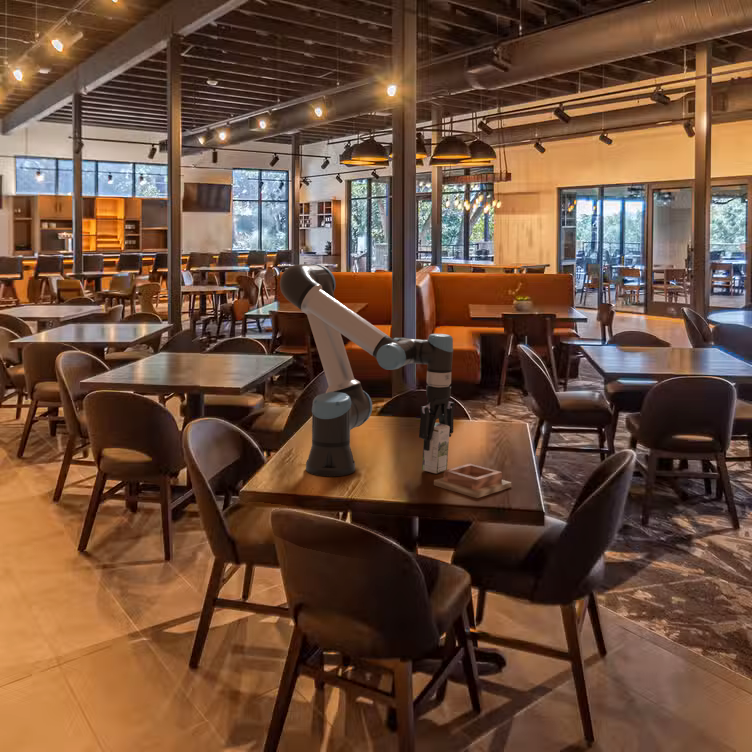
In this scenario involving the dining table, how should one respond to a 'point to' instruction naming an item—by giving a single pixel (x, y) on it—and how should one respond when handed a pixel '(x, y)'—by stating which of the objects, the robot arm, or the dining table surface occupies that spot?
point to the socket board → (472, 480)
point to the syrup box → (438, 450)
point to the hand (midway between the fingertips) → (435, 458)
